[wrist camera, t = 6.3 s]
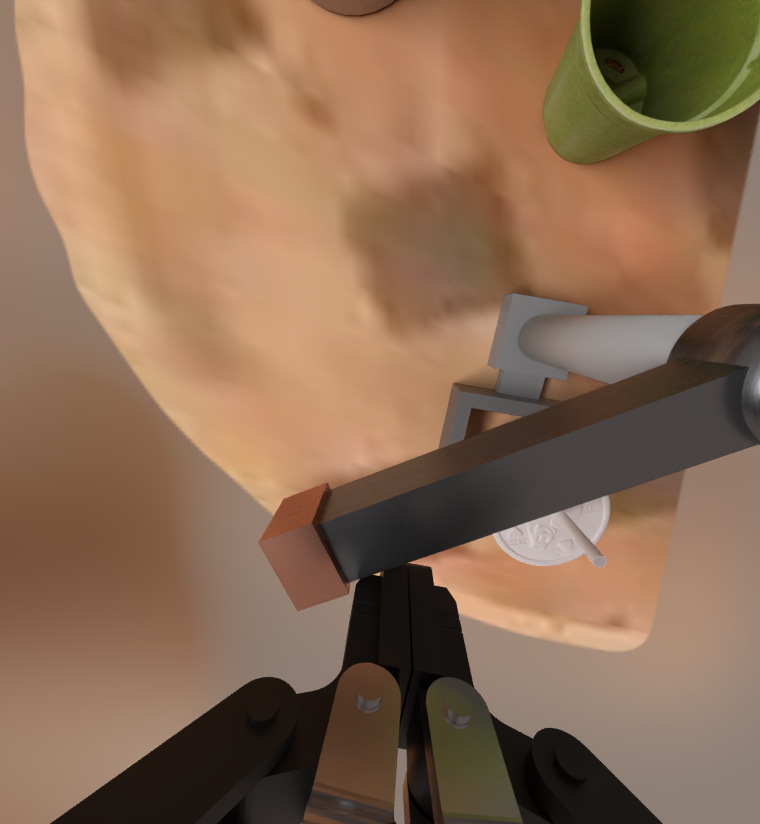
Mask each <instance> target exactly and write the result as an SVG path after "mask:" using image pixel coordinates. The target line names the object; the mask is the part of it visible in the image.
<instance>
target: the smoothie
mask: <svg viewBox="0 0 760 824" xmlns="http://www.w3.org/2000/svg"><path fill="white" fill-rule="evenodd" d="M609 516H610V500H609V496H608V495H607V496H604V497H601V498H598V499H595V500H592V501H589V502H586V503H583V504H580V505H577V506H574V507H571V508H568V509H565V510H562V511H559V512H557V513H554V514H551V515H548V516H545V517H542V518H539V519H536V520H533V521H530V522H527V523H524V524H521V525H518V526H515V527H512V528H509V529H506V530H503V531H500V532H497V533H494V534H492V535H493V536H494V537H495V539H496V541H497V542H498V544H499V545H500V547H501V548H502V549H503V550H504V551H505V552H506V553H507V554H509V555H510V556H511V557H513V558H515V559H517V560H519V561H521V562H524V563H527V564H531V565H537V566H552V565H558V564H563V563H566V562H569V561H571V560H574V559H576V558H578V557H580V556H581V555H583V554H585V555H586V556H587V557H588V559H589V560H590V561H591V562H592V563H593V565H594V566H595V567H603V566H604V565H605V564H606V562H607V560H606V558H605V557H604V556H603V554H602V553H601V552H600V551H599V550H598V549H597V548H596V546H595V544H596V543H597V542H598V540H599V539H600V538H601V536H602V535H603V533H604V531H605V529H606V527H607V524H608V521H609Z"/></svg>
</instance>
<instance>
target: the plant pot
mask: <svg viewBox="0 0 760 824" xmlns="http://www.w3.org/2000/svg"><path fill="white" fill-rule="evenodd" d="M606 60H613V61H616V62H618V63H619V64H620V65H622V67H623V69H624V72H623V73H619V72H618V71H617V70H615V69H614V68H613V67H611V66H608V64H607V63H606V64H605V63H604V61H606ZM759 100H760V0H581V3H580V15H579V19H578V22H577V24H576V27H575V29H574V31H573V33H572V36H571V38H570V40H569V43H568V45H567V47H566V49H565V52H564V54H563V56H562V58H561V61H560V63H559V65H558V67H557V69H556V71H555V74H554V76H553V78H552V81H551V83H550V85H549V87H548V90H547V93H546V96H545V100H544V104H543V119H544V123H545V128H546V132H547V137H548V141H549V143H550V145H551V146H552V148H553V149H554V150H555V151H556V152H557V153H558V154H559V155H560V156H561V157H563V158H564V159H566V160H568V161H571V162H573V163H579V164H591V163H596V162H599V161H603V160H605V159H608V158H610V157H612V156H614V155H617V154H619V153H621V152H623V151H625V150H627V149H629V148H632V147H634V146H636V145H638V144H640V143H643V142H645V141H647V140H649V139H652V138H654V137H656V136H659V135H661V134H667V133H668V134H681V133H690V132H695V131H700V130H704V129H707V128H710V127H713V126H716V125H718V124H720V123H722V122H725V121H727V120H729V119H731V118H733V117H734V116H736V115H738V114H740V113H741V112H743V111H745V110H746V109H748V108H749V107H751V106H752V105H754V104H755V103H756V102H757V101H759Z"/></svg>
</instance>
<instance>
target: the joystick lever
mask: <svg viewBox="0 0 760 824" xmlns="http://www.w3.org/2000/svg"><path fill="white" fill-rule="evenodd" d="M758 444H759V445H760V304H739V305H731V306H726V307H722V308H719V309H716V310H714V311H712V312H710V313H708V314H706V315H704V316H703V317H701V318H699V319H698V320H697V321H695V322H694V323H693V324H692V325H691V326H689V327H688V328H687V329H686V330H685V331H684V333H683V334H682V335H681V336H680V337H679V339H678V340H677V342H676V343H675V345H674V346H673V348H672V350H671V352H670V354H669V357H668V359H667V363H666V364H663V365H661V366H658V367H655V368H653V369H650V370H647V371H645V372H642V373H639V374H637V375H634V376H631V377H629V378H626V379H623V380H621V381H618V382H615V383H613V384H610V385H607V386H605V387H602V388H599V389H597V390H594V391H591V392H589V393H586V394H584V395H581V396H578V397H576V398H573V399H570V400H568V401H565V402H562V403H560V404H557V405H554V406H552V407H549V408H546V409H544V410H541V411H538V412H536V413H533V414H530V415H528V416H525V417H522V418H520V419H517V420H514V421H512V422H509V423H507V424H504V425H501V426H499V427H496V428H493V429H491V430H488V431H485V432H483V433H480V434H477V435H475V436H472V437H469V438H467V439H464V440H461V441H459V442H456V443H453V444H451V445H448V446H445V447H443V448H440V449H437V450H435V451H432V452H430V453H427V454H424V455H422V456H419V457H416V458H414V459H411V460H408V461H406V462H403V463H400V464H398V465H395V466H392V467H390V468H387V469H384V470H382V471H379V472H376V473H374V474H371V475H368V476H366V477H363V478H360V479H358V480H355V481H353V482H350V483H347V484H345V485H342V486H339V487H337V488H334V489H330V487H329V485H328V483H324V484H322V485H319V486H317V487H314V488H311V489H309V490H306V491H303V492H301V493H298V494H295V495H293V496H290V497H288V498H285V499H284V500H283V501H282V503H281V505H280V506H279V508H278V510H277V512H276V513H275V515H274V517H273V519H272V520H271V522H270V524H269V525H268V527H267V529H266V531H265V532H264V534H263V536H262V537H261V539H260V541H259V545H260V547H261V548H262V550H263V552H264V553H265V555H266V557H267V559H268V561H269V562H270V564H271V566H272V568H273V569H274V571H275V573H276V574H277V576H278V578H279V580H280V581H281V583H282V585H283V587H284V588H285V590H286V592H287V594H288V595H289V597H290V599H291V601H292V602H293V604H294V606H295V608H296V609H297V611H300V610H303V609H306V608H309V607H312V606H315V605H318V604H321V603H324V602H327V601H330V600H333V599H335V598H339V597H342V596H345V595H347V594H349V589H350V583H351V582H352V581H355V580H358V579H361V578H364V577H367V576H370V575H373V574H376V573H379V572H382V571H385V570H388V569H391V568H394V567H397V566H400V565H403V564H405V563H408V562H411V561H414V560H417V559H420V558H423V557H426V556H429V555H432V554H435V553H438V552H441V551H444V550H447V549H450V548H453V547H456V546H459V545H462V544H465V543H468V542H471V541H474V540H477V539H480V538H482V537H485V536H488V535H491V534H494V533H497V532H500V531H503V530H506V529H509V528H512V527H515V526H518V525H521V524H524V523H527V522H530V521H533V520H536V519H539V518H542V517H545V516H548V515H551V514H554V513H557V512H559V511H562V510H565V509H568V508H571V507H574V506H577V505H580V504H583V503H586V502H589V501H592V500H595V499H598V498H601V497H604V496H607V495H610V494H613V493H616V492H619V491H622V490H625V489H628V488H631V487H634V486H636V485H639V484H642V483H645V482H648V481H651V480H654V479H657V478H660V477H663V476H666V475H669V474H672V473H675V472H678V471H681V470H684V469H687V468H690V467H692V466H696V465H699V464H702V463H705V462H707V461H710V460H713V459H716V458H719V457H722V456H725V455H728V454H731V453H734V452H737V451H740V450H743V449H746V448H749V447H752V446H755V445H758Z"/></svg>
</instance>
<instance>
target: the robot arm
mask: <svg viewBox="0 0 760 824" xmlns="http://www.w3.org/2000/svg"><path fill="white" fill-rule="evenodd" d="M312 1H314V2H315V3H317V4H319V5H320V6H322V7H323V8H325V9H327V10H330V11H333V12H336V13H339V14H342V15H363V14H367V13H372V12H375V11H377V10H379V9H381V8H383V7H385V6H387V5H389V4H391V3H392V2H393V1H394V0H312ZM398 748H401V749H407V772H406V775H405V779H404V783H403V805H404V820H405V824H662V823H661V821H660V820H658V818H657V817H655V815H654V814H652V812H651V811H649V809H648V808H646V806H644V805H643V803H641V801H640V800H639V799H638V798H637V797H635V795H634V794H633V793H631V792H630V791H629V789H628V788H626V786H624V784H623V783H622V782H620V780H618V779H617V778H616V777H615V775H614V774H613V773H612V772H610V770H608V768H607V767H606V766H605V765H604V764H603V763H602V762H601V761H599V759H597V758H596V756H595V755H594V754H593V753H591V751H590V750H589V749H588V748H587V747H585V746H584V745H583V744H582V743H581V742H580V741H579V740H577V739H576V738H575V737H573V736H572V735H570V734H568V733H566V732H564V731H562V730H559V729H555V728H545V729H542V730H540V731H539V732H537V733H536V735H535V736H534V739H532V738H530V737H529V736H527V735H524V734H523V733H521V732H519V731H517V730H515V729H513V728H511V727H509V726H507V725H505V724H504V723H502V722H501V721H499V720H498V719H497V718H495V717H494V716H493V715H492V714H491V713H490V712H489V710H488V707H487V705H486V703H485V701H484V699H483V698H482V697H481V695H480V694H479V693H478V692H477V691H476V690H475V689H474V685H473V681H472V676H471V672H470V667H469V662H468V657H467V653H466V648H465V644H464V638H463V634H462V628H461V624H460V620H459V614H458V609H457V605H456V601H455V600H454V598H453V597H452V595H451V594H450V592H449V591H448V589H447V588H445V587H440V586H434V582H433V575H432V569H431V567H428V566H422V565H417V564H411V563H405V564H403V565H400V566H397V567H394V568H391V569H388V570H385V571H382V572H381V573H380V576H376V575H370V576H367V577H364V578H361V579H360V580H359V581H358V583H357V584H356V588H355V593H354V599H353V605H352V610H351V616H350V622H349V628H348V633H347V640H346V646H345V652H344V658H343V665H342V669H341V671H340V673H339V675H338V676H337V678H335V680H334V681H332V682H331V683H330V684H329V685H327V686H326V687H323V688H321V689H319V690H315V691H311V692H305V693H299V694H296V693H295V691H294V690H293V688H292V687H291V686H290V685H289V684H288V683H286V682H285V681H283V680H281V679H279V678H274V677H263V678H259V679H255V680H253V681H251V682H249V683H247V684H245V685H244V686H243V687H241V688H240V689H238V690H237V691H236V692H234V693H233V694H231V695H230V696H228V697H227V698H226V699H224V700H223V701H221V702H220V703H219V704H217V705H216V706H214V707H213V708H212V709H210V710H209V711H208V712H206V713H205V714H203V715H202V716H200V717H199V718H198V719H196V720H195V721H193V722H192V723H191V724H189V725H188V726H187V727H185V728H184V729H182V730H181V731H180V732H178V733H177V734H175V735H174V736H172V737H171V738H170V739H168V740H167V741H165V742H164V743H163V744H161V745H160V746H158V747H157V748H156V749H154V750H153V751H151V752H150V753H149V754H147V755H146V756H144V757H143V758H142V759H140V760H139V761H138V762H136V763H135V764H133V765H132V766H130V767H129V768H128V769H126V770H125V771H123V772H122V773H121V774H119V775H118V776H116V777H115V778H113V779H112V780H111V781H109V782H108V783H106V784H105V785H104V786H102V787H101V788H99V789H98V790H97V791H95V792H94V793H92V794H91V795H90V796H88V797H87V798H86V799H84V800H83V801H81V802H80V803H79V804H77V805H76V806H74V807H73V808H71V809H70V810H69V811H67V812H66V813H64V814H63V815H62V816H60V817H59V818H57V819H56V820H55V821H53V822H52V823H50V824H301V823H302V824H396V822H395V821H394V801H395V785H396V768H397V754H398Z"/></svg>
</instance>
